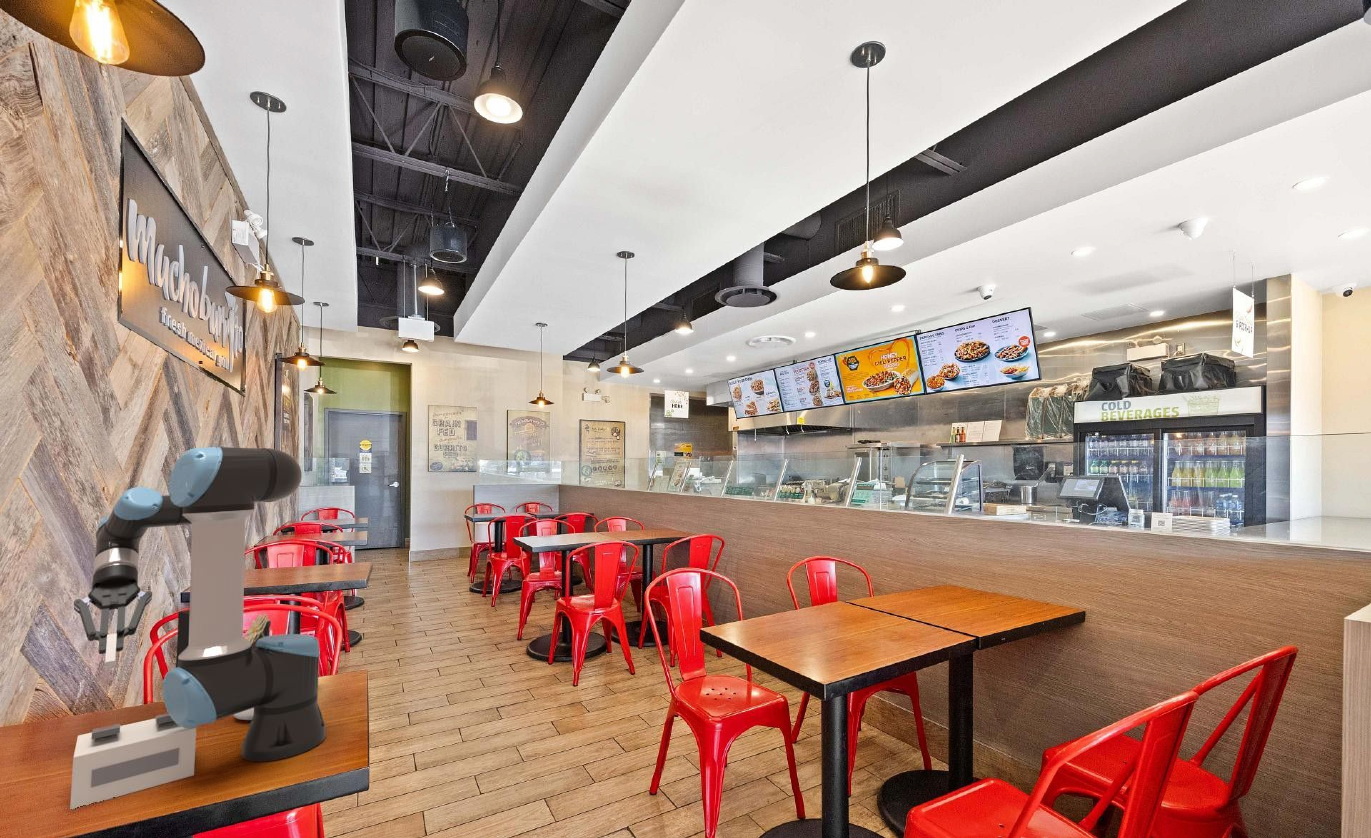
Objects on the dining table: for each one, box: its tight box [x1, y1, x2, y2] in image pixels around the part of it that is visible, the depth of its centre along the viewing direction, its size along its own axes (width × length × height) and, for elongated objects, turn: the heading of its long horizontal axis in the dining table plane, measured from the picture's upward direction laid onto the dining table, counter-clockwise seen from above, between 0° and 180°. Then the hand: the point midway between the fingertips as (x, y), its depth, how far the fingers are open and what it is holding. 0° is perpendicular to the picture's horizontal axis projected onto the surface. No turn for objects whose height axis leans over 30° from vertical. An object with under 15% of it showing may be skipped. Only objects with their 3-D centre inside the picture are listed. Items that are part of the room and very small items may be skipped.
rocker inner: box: [154, 712, 172, 724], centre depth 119 cm, size 6×4×1 cm
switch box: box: [69, 717, 197, 811], centre depth 116 cm, size 12×17×9 cm
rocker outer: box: [91, 723, 121, 739], centre depth 113 cm, size 6×4×1 cm
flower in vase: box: [232, 613, 268, 721], centre depth 146 cm, size 13×11×25 cm
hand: (110, 664), depth 123 cm, fingers closed
